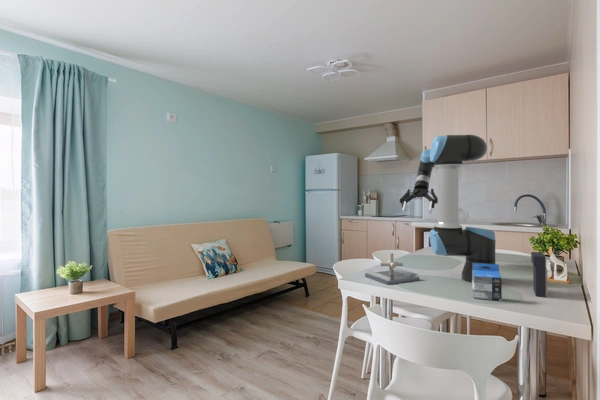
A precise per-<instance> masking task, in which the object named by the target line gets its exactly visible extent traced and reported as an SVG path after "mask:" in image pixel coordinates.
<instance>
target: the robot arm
mask: <svg viewBox="0 0 600 400" xmlns="http://www.w3.org/2000/svg"><path fill="white" fill-rule="evenodd" d="M487 151H488V145H487V143H486V141H485V140H484V139H483V138H482V137H480V136H478V135H474V134H445V135H438V136H435V138H434V139H433V140H432V142H431V145H430V148H429V149H425V150H423V151H422V153H421V155H420V158H419V159H420V161H419V165H418V168H417V174H416V178H415V183H414V187H413V189H412V190H411V189H407V191H406V193H404V195H402V196H401V198H399V203H400V204H401V208H402V213H403V214H405V213H406V209H407V203H409V202H410V201H412V200H413V199H416V198H425V199H427V200H428V201H429V208H428V212H429V215H431V214H432V211H433V209H435V205H436V204H437V222H436V223H435V224H434V225H433V229H431V230H430V231H429V241H430V246H431V250H432V251H433V253H434V254H435V255H436V256H442V257H443V256H444V257H449V256H451V257H452V256H453V257H465V263H464V266H463V269H462V271H461V279H462V280H463V281H464V280H465V281H468V282H470V283H472V269H473V267H472V263H482V264H497V263H496V242H497V240H496V234H495V231H493V230H492V229H487V228H482V227H481V228H480V227H474V226H465V228H464V229H463V226H462V225H461V224H460V223H459V180H460V179H459V174H460V173H459V169H460V168H461V167H462V166H463V163H466V162H473V161H478V160H480V159H483V158H484V157H485V155H486V154H487ZM433 168H435V169H436V170H437V195H436V193H435V192H434V188H431V189H429V186H430V181H431V175H432V172H433ZM429 194H430V195H429ZM481 268H485V269H490V267H487V266H485V267H481Z"/></svg>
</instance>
